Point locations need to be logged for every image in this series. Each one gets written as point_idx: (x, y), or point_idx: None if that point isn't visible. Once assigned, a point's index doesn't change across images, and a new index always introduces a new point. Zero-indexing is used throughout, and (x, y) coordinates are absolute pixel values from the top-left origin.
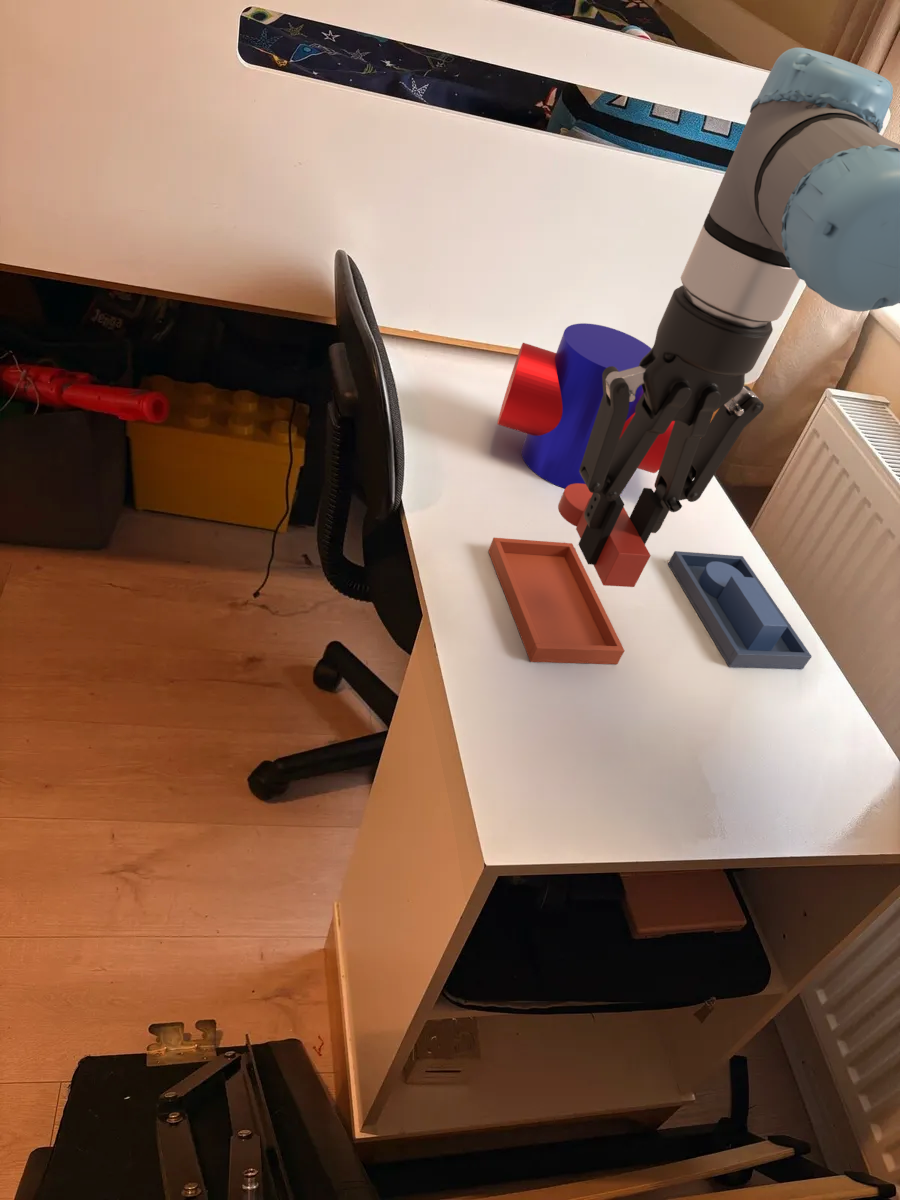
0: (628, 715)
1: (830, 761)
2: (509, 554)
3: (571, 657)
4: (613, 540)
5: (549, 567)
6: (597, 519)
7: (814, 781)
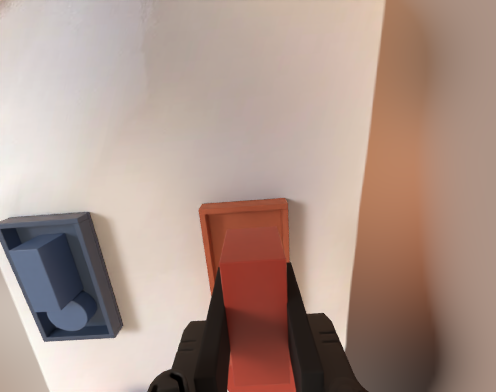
0: (206, 143)
1: (3, 101)
2: None
3: (249, 202)
4: (284, 290)
5: None
6: (322, 330)
7: (27, 74)
